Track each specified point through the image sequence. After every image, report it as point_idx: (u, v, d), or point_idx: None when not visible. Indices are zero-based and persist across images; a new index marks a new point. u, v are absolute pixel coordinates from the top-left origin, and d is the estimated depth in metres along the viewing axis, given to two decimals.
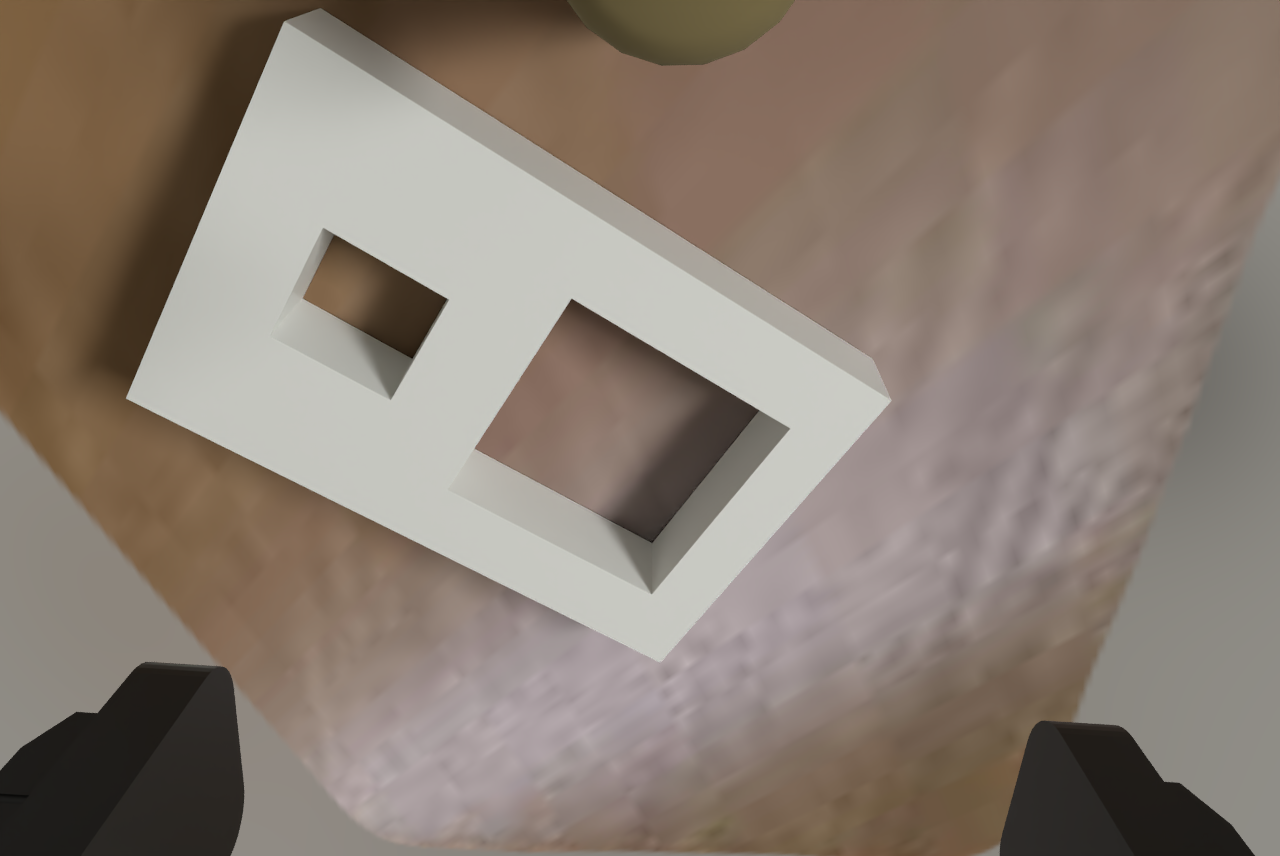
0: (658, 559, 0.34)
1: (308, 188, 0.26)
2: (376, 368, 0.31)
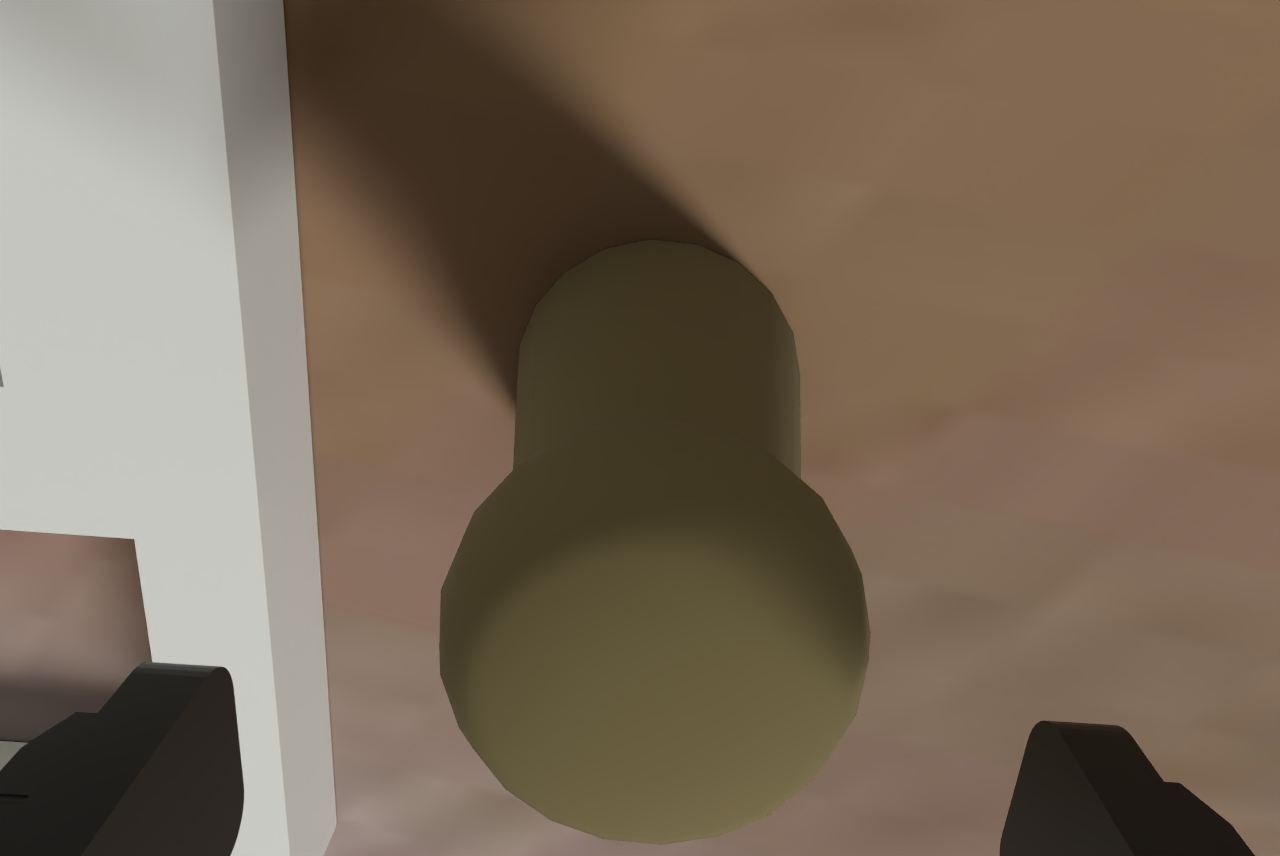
0: None
1: (0, 116, 0.16)
2: None
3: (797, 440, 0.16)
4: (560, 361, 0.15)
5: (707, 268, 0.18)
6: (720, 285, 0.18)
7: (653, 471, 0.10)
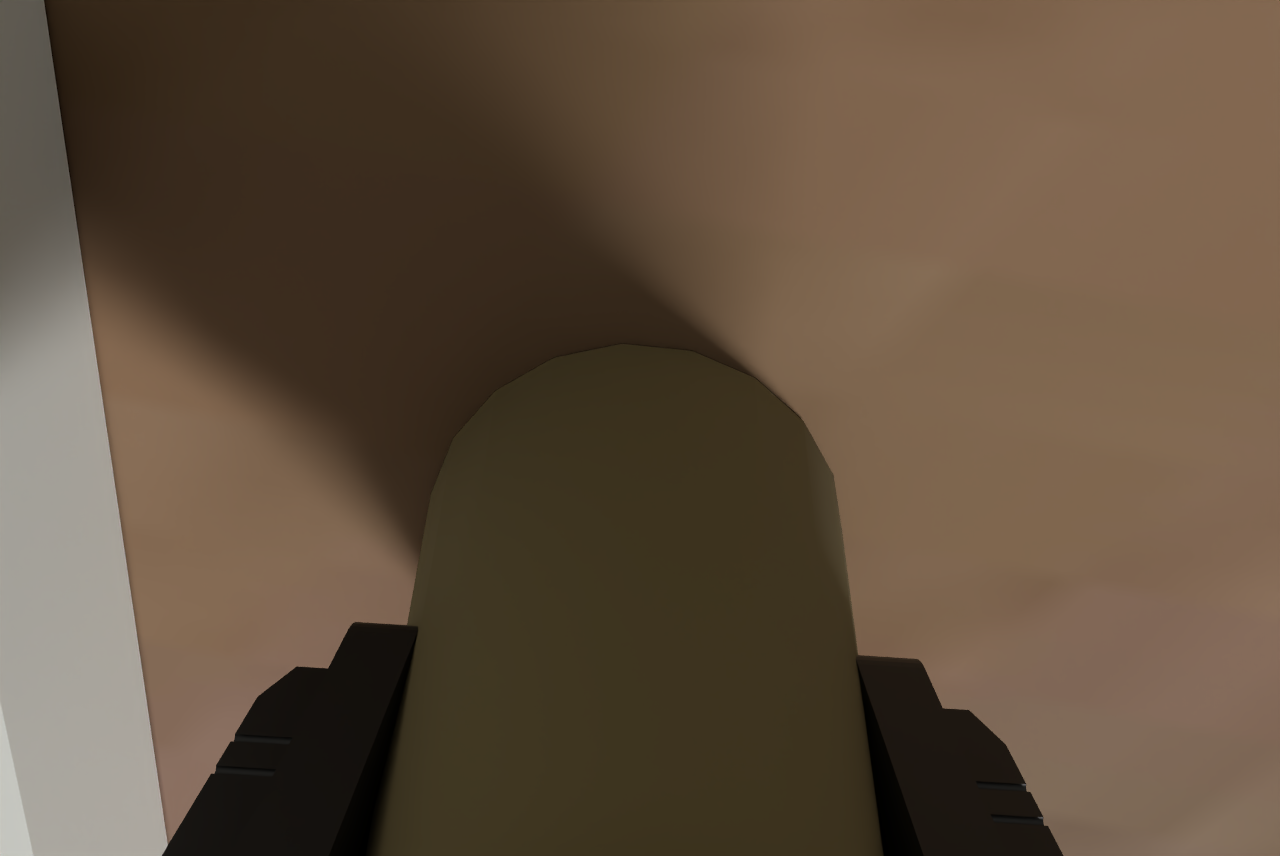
0: None
1: None
2: None
3: None
4: (465, 593, 0.09)
5: (708, 397, 0.12)
6: (730, 427, 0.11)
7: None
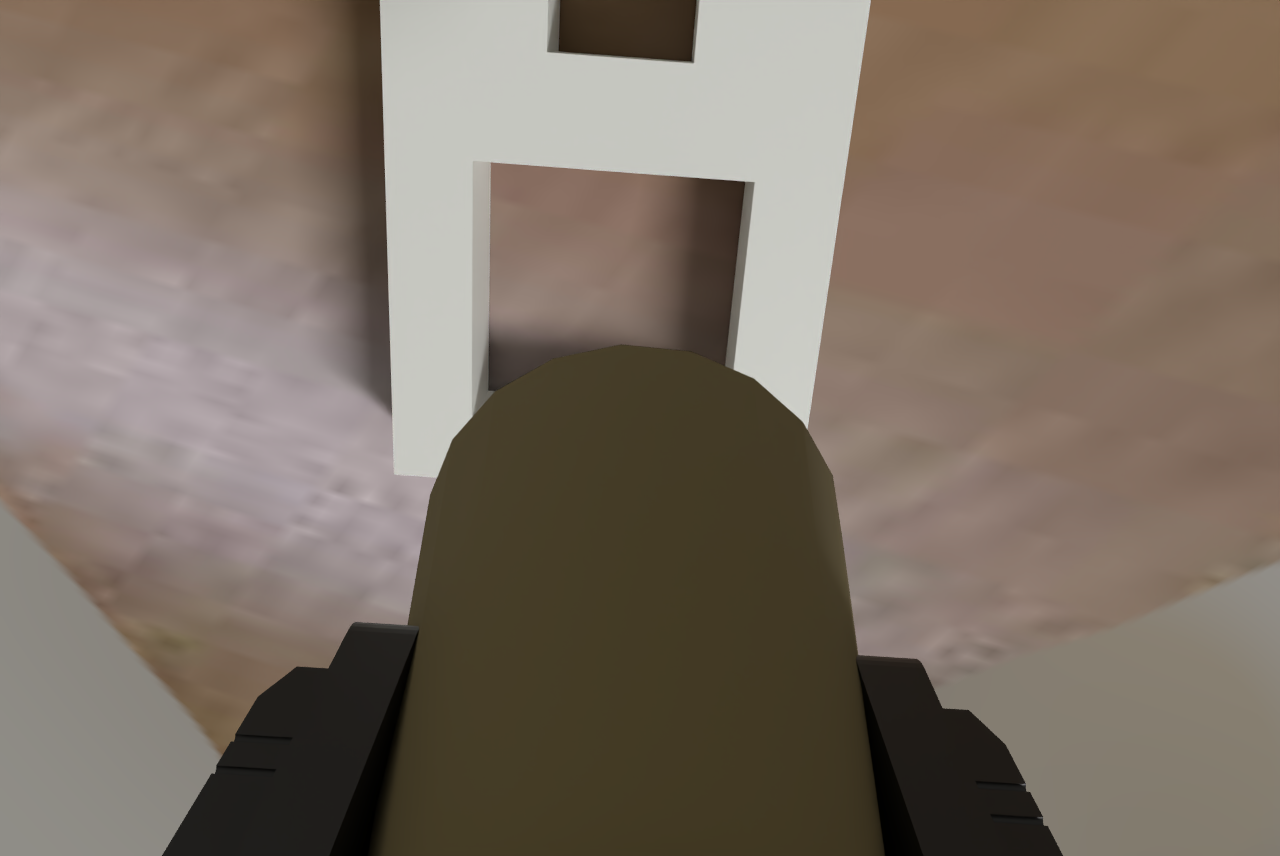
0: None
1: None
2: (553, 19, 0.27)
3: None
4: (466, 595, 0.09)
5: (707, 397, 0.12)
6: (730, 428, 0.11)
7: None
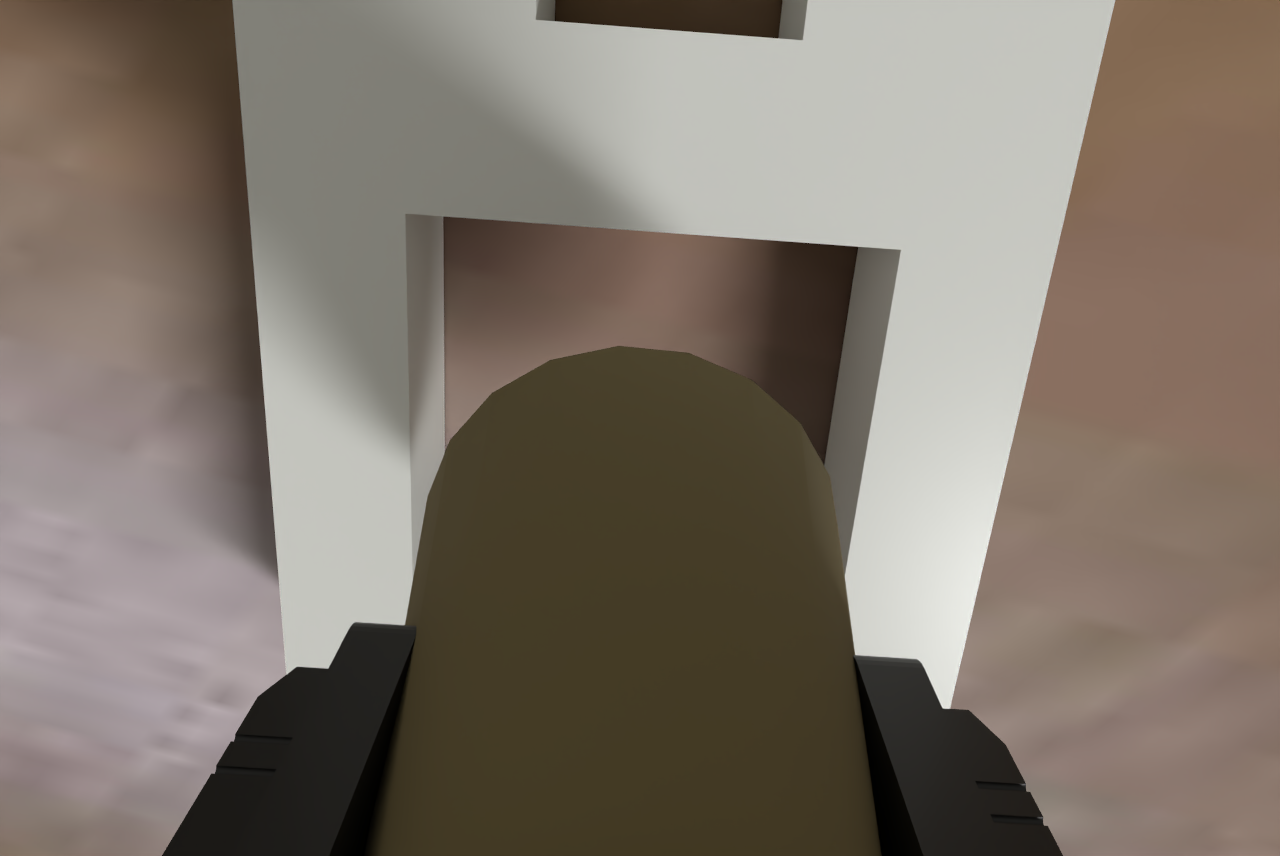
0: None
1: None
2: None
3: None
4: (462, 596, 0.09)
5: (705, 399, 0.12)
6: (727, 430, 0.11)
7: None
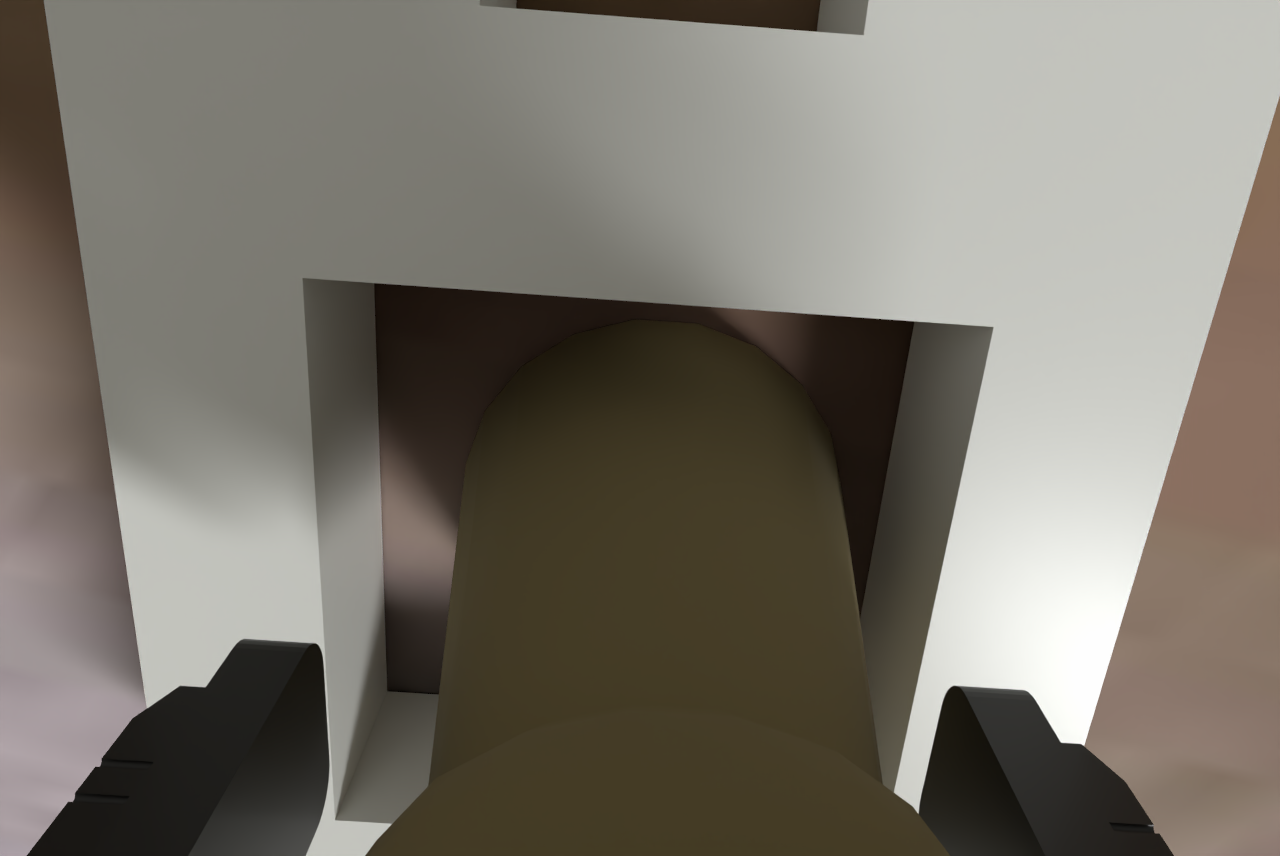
0: (391, 750, 0.15)
1: None
2: None
3: (858, 624, 0.11)
4: (506, 530, 0.10)
5: (714, 362, 0.13)
6: (734, 388, 0.13)
7: None
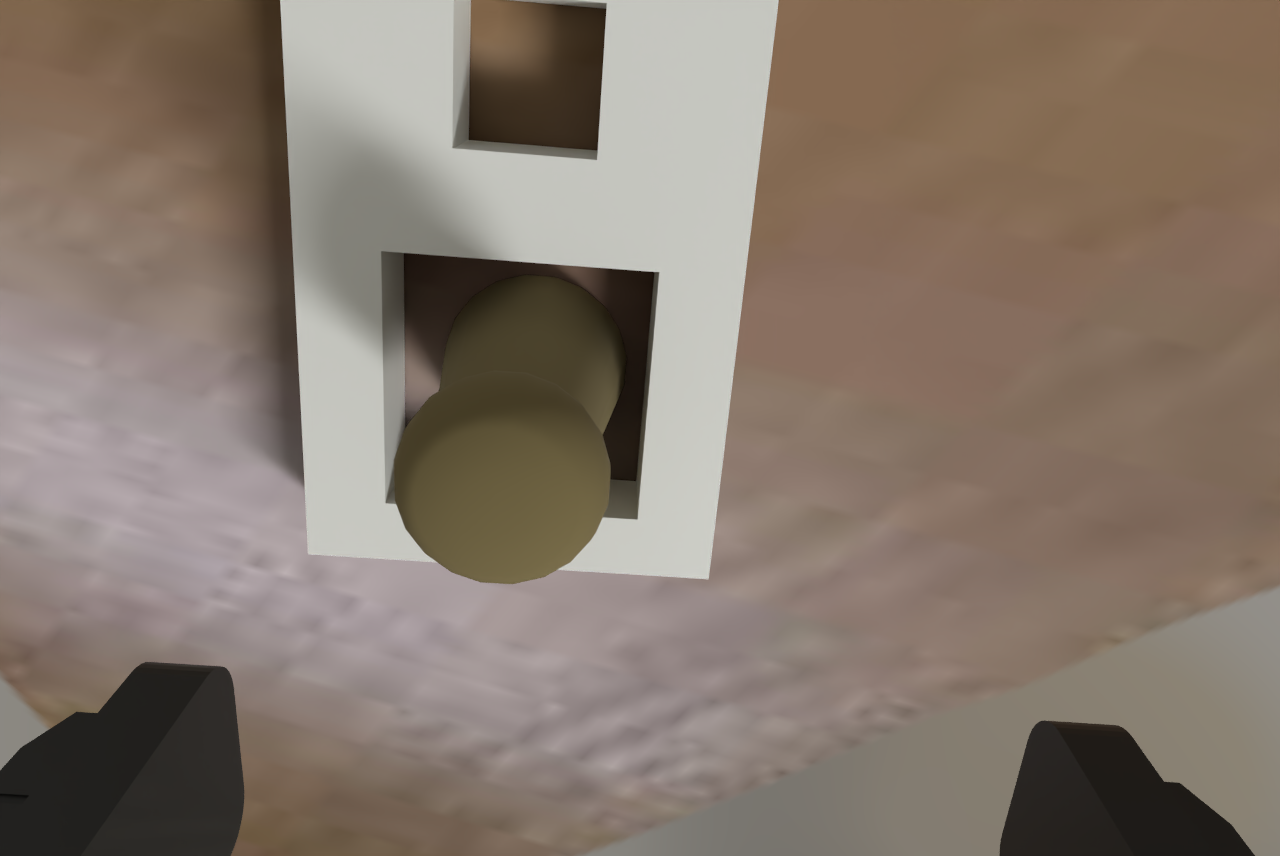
0: None
1: None
2: (460, 112, 0.27)
3: (604, 391, 0.27)
4: (462, 349, 0.27)
5: (557, 292, 0.30)
6: (563, 302, 0.29)
7: (490, 391, 0.21)
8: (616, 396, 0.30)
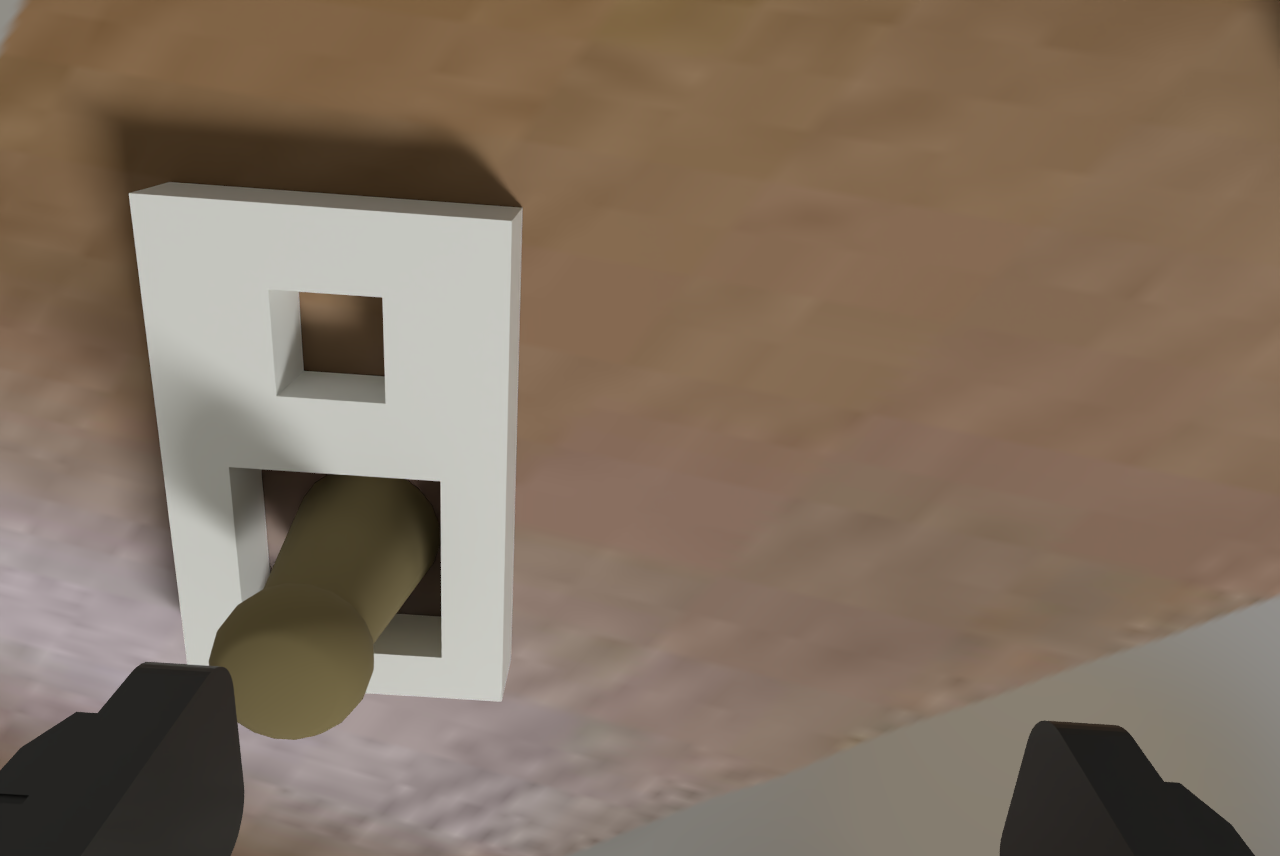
0: None
1: (404, 277, 0.33)
2: (287, 362, 0.36)
3: (398, 572, 0.36)
4: (287, 543, 0.35)
5: (374, 484, 0.38)
6: (377, 495, 0.38)
7: (271, 609, 0.30)
8: (421, 564, 0.38)
